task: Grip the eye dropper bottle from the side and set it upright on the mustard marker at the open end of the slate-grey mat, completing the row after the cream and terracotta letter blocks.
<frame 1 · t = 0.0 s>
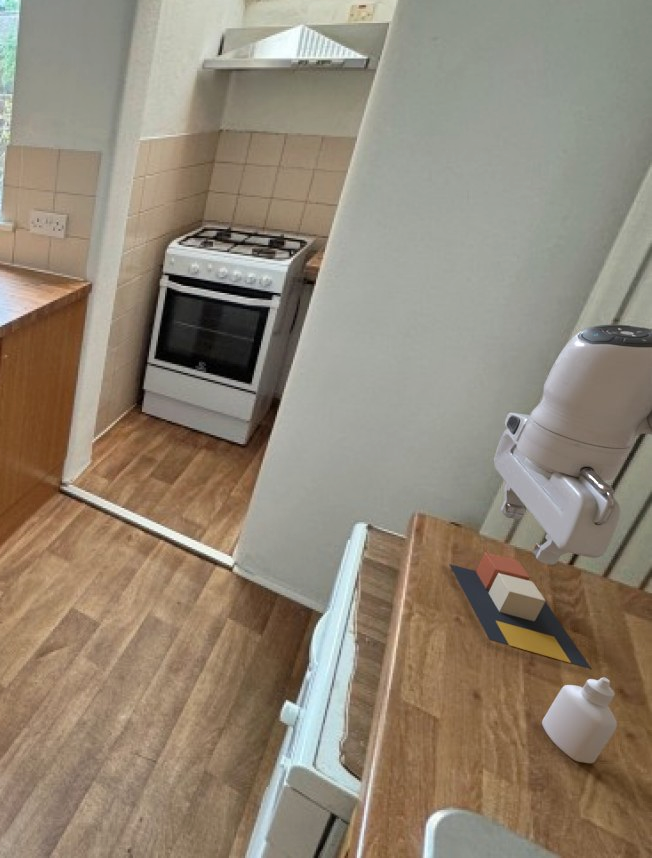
hand: (525, 536, 80), 26 cm above the countertop, tool pointing down, fingers open, 8 cm apart
cream letter block: (510, 606, 101), point 1 cm above the countertop, touching word mat
word mat: (512, 613, 100), on the countertop
eye dropper bottle: (565, 744, 80), on the countertop
terracotta letter block: (496, 584, 105), point 1 cm above the countertop, touching word mat
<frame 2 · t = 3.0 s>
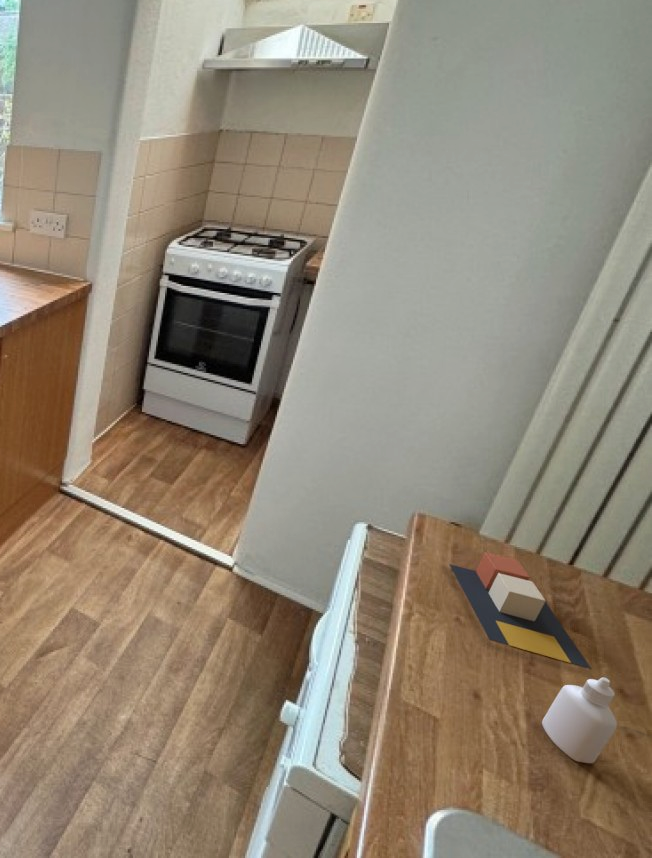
nothing on the countertop moved.
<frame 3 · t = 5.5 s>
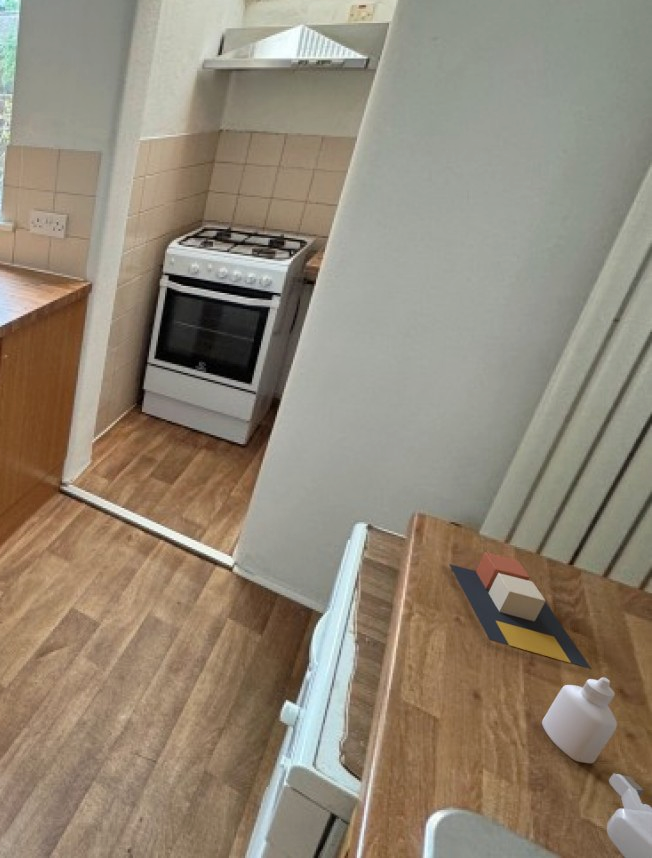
nothing on the countertop moved.
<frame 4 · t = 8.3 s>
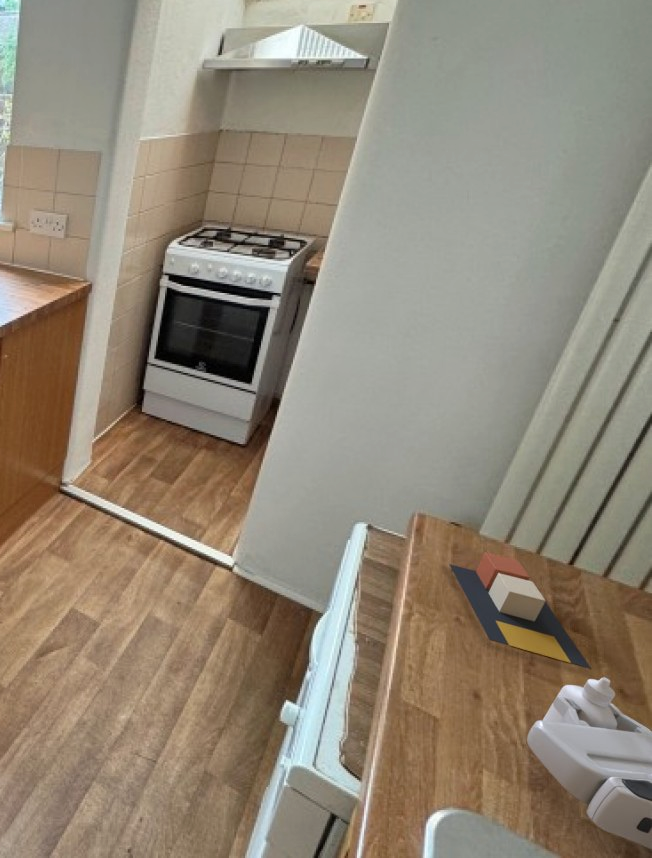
hand: (580, 703, 78), 7 cm above the countertop, tool horizontal, fingers closed on eye dropper bottle, 3 cm apart
eye dropper bottle: (565, 744, 80), on the countertop, touching gripper
everything else where it was.
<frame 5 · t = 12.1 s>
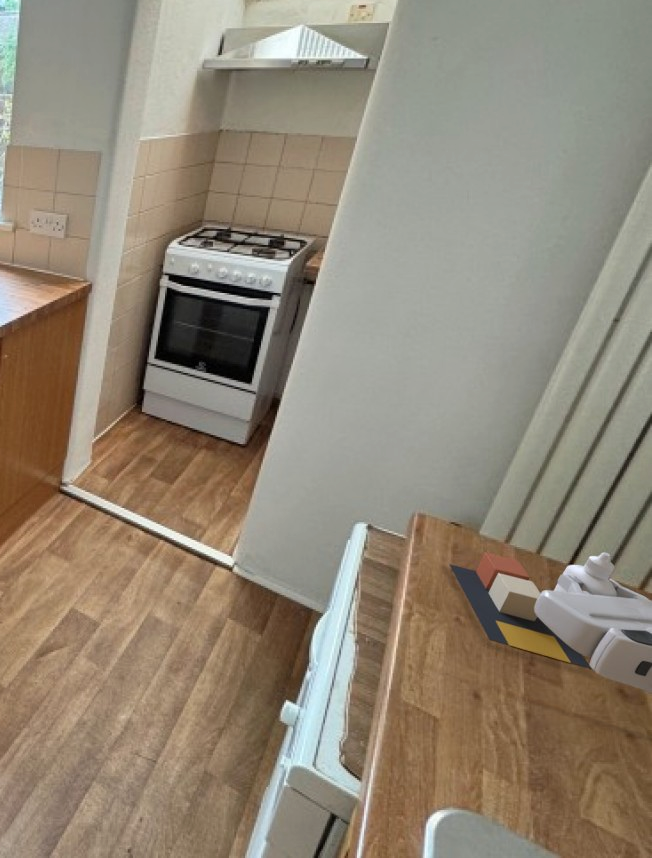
hand: (582, 579, 85), 17 cm above the countertop, tool horizontal, fingers closed on eye dropper bottle, 3 cm apart
eye dropper bottle: (569, 620, 87), point 10 cm above the countertop, touching gripper
everything else where it was.
when the fingers open (7 cm above the countertop, at t = 15.8 s): eye dropper bottle stays where it is, resting on word mat.
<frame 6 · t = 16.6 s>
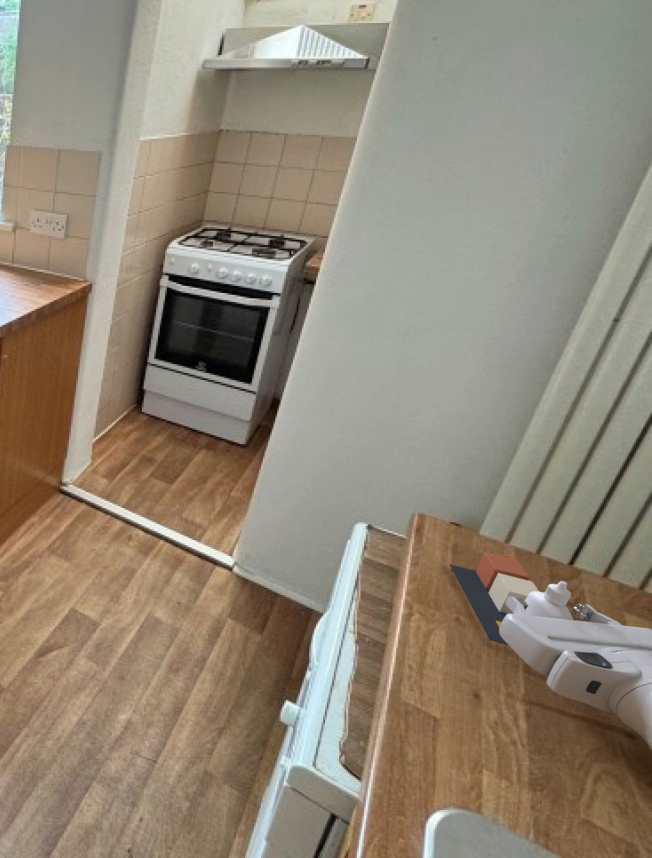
hand: (545, 603, 93), 8 cm above the countertop, tool horizontal, fingers open, 8 cm apart
eye dropper bottle: (531, 642, 94), point 1 cm above the countertop, touching word mat
everything else where it was.
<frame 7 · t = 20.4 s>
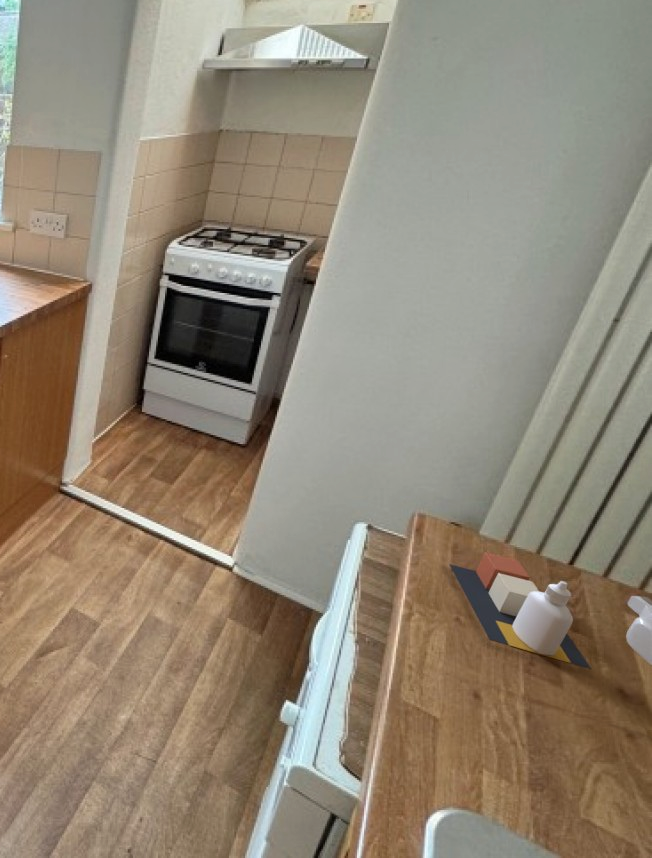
nothing on the countertop moved.
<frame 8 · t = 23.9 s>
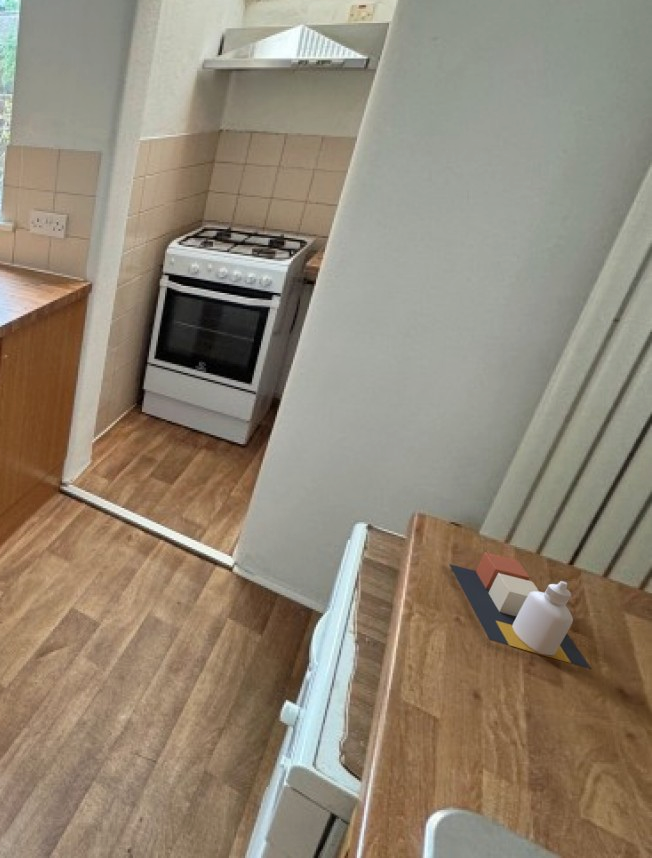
nothing on the countertop moved.
at the end: eye dropper bottle 0.2 cm from the target spot on the word mat, point 0.5 cm above the word mat's base; eye dropper bottle tilted 0°; cream letter block moved 0.0 cm from its start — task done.
